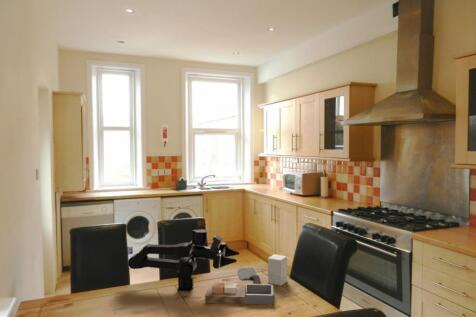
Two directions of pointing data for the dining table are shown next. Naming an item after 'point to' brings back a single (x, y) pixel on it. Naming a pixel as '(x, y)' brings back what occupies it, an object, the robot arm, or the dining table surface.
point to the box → (260, 294)
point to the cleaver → (249, 275)
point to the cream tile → (230, 288)
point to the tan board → (226, 296)
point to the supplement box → (277, 269)
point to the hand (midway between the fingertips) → (237, 257)
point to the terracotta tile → (218, 287)
